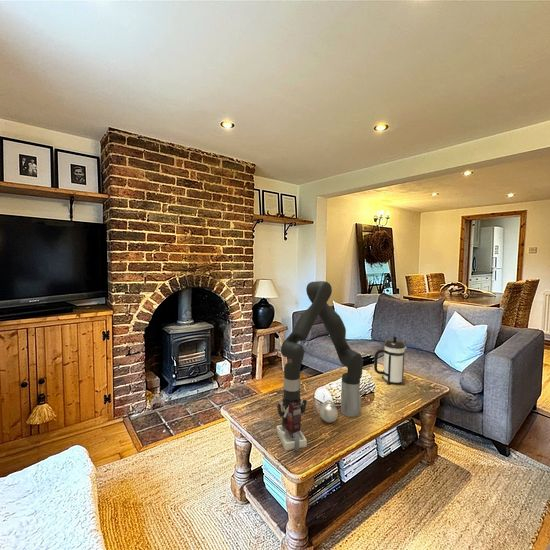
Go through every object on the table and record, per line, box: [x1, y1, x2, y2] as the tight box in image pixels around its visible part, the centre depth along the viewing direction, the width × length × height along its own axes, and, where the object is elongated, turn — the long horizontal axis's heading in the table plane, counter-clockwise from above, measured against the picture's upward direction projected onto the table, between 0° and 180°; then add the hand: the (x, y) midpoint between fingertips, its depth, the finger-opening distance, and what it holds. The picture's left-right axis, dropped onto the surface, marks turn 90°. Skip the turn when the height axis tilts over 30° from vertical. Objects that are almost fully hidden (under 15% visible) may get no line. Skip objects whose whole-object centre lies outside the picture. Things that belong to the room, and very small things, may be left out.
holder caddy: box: [276, 424, 308, 452], centre depth 136 cm, size 10×17×7 cm, turn 16°
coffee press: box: [373, 335, 407, 386], centre depth 195 cm, size 17×16×30 cm
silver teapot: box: [319, 399, 339, 423], centre depth 150 cm, size 9×10×10 cm
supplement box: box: [281, 401, 302, 440], centre depth 135 cm, size 9×5×16 cm, turn 31°
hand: (291, 422), depth 135 cm, fingers closed on supplement box, 5 cm apart
